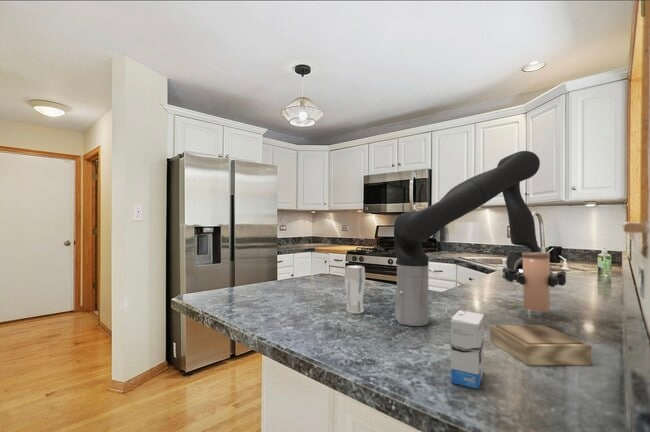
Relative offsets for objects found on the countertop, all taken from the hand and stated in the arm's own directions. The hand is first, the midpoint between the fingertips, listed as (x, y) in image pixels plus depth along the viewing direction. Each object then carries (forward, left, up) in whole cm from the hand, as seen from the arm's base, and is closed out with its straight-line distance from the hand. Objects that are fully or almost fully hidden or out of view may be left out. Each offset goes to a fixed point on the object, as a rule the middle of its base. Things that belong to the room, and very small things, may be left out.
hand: (537, 281), depth 73 cm
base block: (+1, +2, -17) cm, 17 cm away
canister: (+1, +2, -7) cm, 7 cm away
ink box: (-21, -10, -17) cm, 29 cm away
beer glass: (-37, +37, -17) cm, 55 cm away
